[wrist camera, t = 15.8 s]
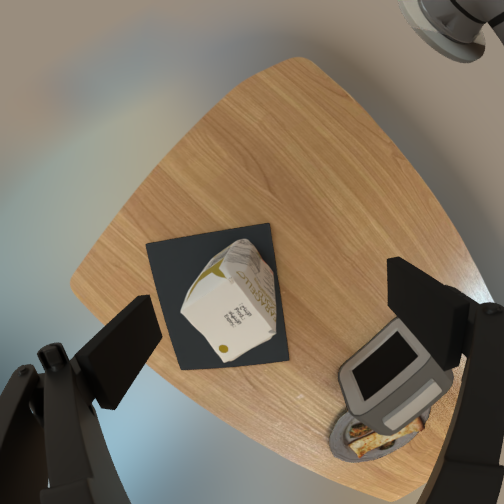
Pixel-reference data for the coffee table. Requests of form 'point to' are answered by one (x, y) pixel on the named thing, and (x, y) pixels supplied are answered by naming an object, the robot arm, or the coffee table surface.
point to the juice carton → (233, 301)
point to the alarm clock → (392, 380)
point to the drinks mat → (184, 275)
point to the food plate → (369, 439)
